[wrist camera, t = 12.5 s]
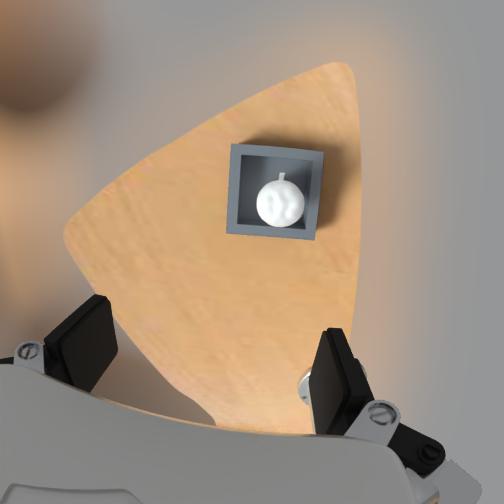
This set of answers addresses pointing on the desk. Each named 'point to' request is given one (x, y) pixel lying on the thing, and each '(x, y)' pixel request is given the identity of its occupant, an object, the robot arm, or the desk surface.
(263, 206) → the milkshake
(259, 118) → the desk surface
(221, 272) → the desk surface
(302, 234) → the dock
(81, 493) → the robot arm
